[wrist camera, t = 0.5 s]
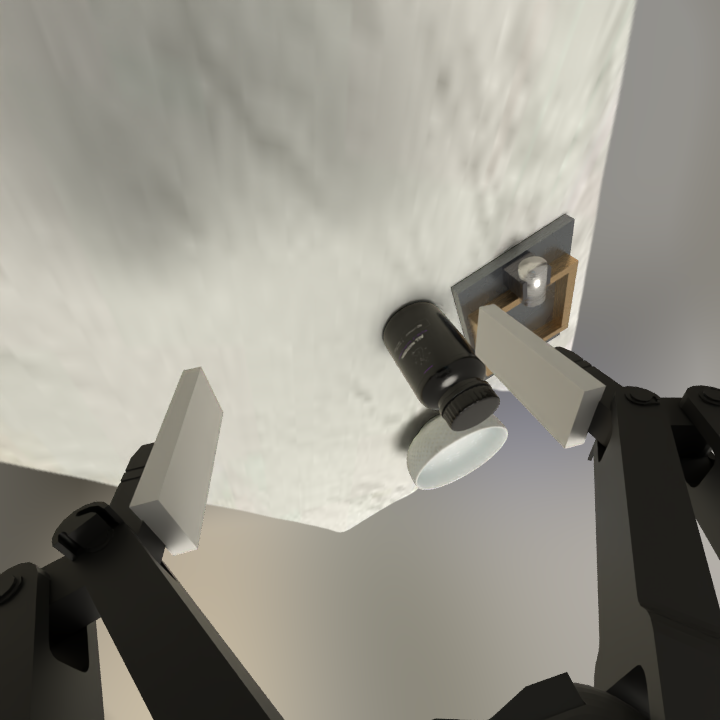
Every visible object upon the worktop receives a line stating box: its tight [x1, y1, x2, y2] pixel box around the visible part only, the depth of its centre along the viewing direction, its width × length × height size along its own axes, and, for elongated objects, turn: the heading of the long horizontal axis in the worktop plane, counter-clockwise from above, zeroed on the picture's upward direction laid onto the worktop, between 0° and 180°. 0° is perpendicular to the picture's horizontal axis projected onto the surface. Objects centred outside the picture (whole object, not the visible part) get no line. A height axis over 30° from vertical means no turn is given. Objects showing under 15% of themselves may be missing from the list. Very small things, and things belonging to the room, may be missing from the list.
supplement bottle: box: [383, 302, 500, 432], centre depth 32 cm, size 7×7×12 cm
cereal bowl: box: [407, 414, 508, 490], centre depth 54 cm, size 17×17×7 cm
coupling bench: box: [451, 214, 578, 381], centre depth 39 cm, size 21×13×5 cm, turn 24°
